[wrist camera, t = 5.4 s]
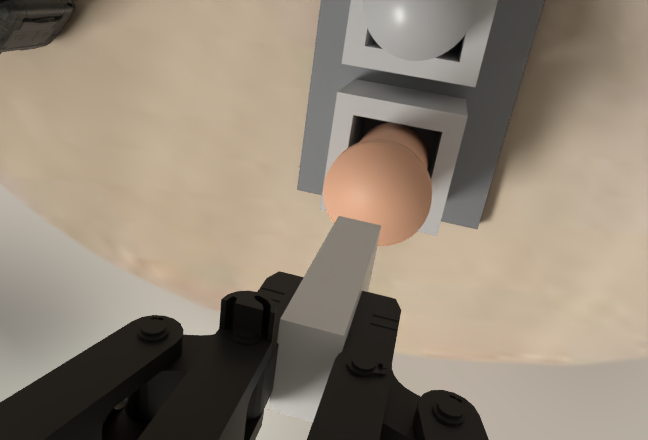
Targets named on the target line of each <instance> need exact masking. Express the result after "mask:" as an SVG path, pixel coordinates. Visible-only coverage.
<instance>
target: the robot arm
mask: <svg viewBox="0 0 648 440" xmlns="http://www.w3.org/2000/svg"><path fill="white" fill-rule="evenodd" d="M380 230H381V225H377V224H373V223H368V222H364V221H360V220H355V219H351V218H346V217H342V216H338V218H337V220H336V222H335V223H334V225H333V227H332V229H331V230H330V232H329V234H328V236H327V237H326V239H325V241H324V243H323V244H322V246H321V248H320V250H319V252H318V253H317V255H316V257H315V259H314V260H313V262H312V264H311V266H310V267H309V269H308V271H307V273H306V274H305V276H304V277H300V276H296V275H292V274H288V273H284V272H280V271H279V272H277V273H276V274H274V275H272V276H270V277H268V278H267V279H266V280H265V282H264V283H263V284H262V286H261V288H260V289H259V290H258V292H253V291H238V292H234V293H231V294H228V295H227V296H225V297H224V298H223V299H221V313H220V327H219V330H218V331H217V332H216V334H214V335H203V336H199V335H183V328H182V326H181V324H180V323H179V322H177V321H176V320H175V319H173V318H169V317H166V316H158V315H152V316H146V317H141V318H139V319H137V320H135V321H132V322H131V323H129V324H127V325H126V326H124V327H122V328H121V329H119V330H118V331H116V332H114V333H113V334H111V335H109V336H108V337H106V338H105V339H103V340H102V341H100V342H98V343H96V344H95V345H93V346H92V347H90V348H88V349H87V350H85V351H83V352H82V353H80V354H78V355H77V356H75V357H74V358H72V359H70V360H69V361H67V362H66V363H64V364H62V365H61V366H59V367H58V368H56V369H54V370H52V371H51V372H49V373H48V374H46V375H44V376H43V377H41V378H39V379H38V380H36V381H35V382H33V383H32V384H30V385H28V386H26V387H25V388H23V389H22V390H20V391H18V392H17V393H15V394H13V395H12V396H10V397H9V398H7V399H5V400H4V401H2V402H0V440H255V439H256V436H257V434H258V432H259V430H260V428H261V425H262V420H263V413H264V408H265V406H266V404H267V401H268V399H269V397H270V403H269V410H271V411H275V412H278V413H281V414H284V415H288V416H291V417H295V418H298V419H302V420H305V421H309V422H312V423H313V424H312V427H311V430H310V432H309V435H308V438H307V440H489V439H488V437H487V434H486V431H485V429H484V426H483V423H482V421H481V418H480V416H479V414H478V413H477V411H476V409H475V407H474V406H473V405H472V404H471V403H469V402H468V401H467V400H466V399H465V398H463V397H461V396H459V395H457V394H455V393H453V392H448V391H444V390H431V391H429V392H427V393H424V394H423V395H422V396H421V397H420V396H418V395H416V394H415V393H413V392H411V391H410V390H408V389H407V388H405V387H404V386H403V385H402V384H401V383H399V382H398V380H397V379H396V377H395V376H394V374H393V371H392V359H393V354H394V348H395V342H396V337H397V331H398V325H399V320H400V314H401V309H400V307H399V305H398V303H397V301H396V299H394V298H390V297H386V296H382V295H378V294H374V293H370V292H368V288H369V284H370V279H371V274H372V269H373V264H374V259H375V254H376V250H377V245H378V240H379V235H380Z"/></svg>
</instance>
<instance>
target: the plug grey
mask: <svg viewBox="0 0 648 440" xmlns="http://www.w3.org/2000/svg"><path fill="white" fill-rule="evenodd" d="M477 3H478V0H363V12H364V18H365V22H366V25H367V28H368V30H369V32H370V34H371V35H372V37H373V39H374V40H375V41H376V43H377V44H378V45H379V46H380V47H381V48H382V49H384V50H385V51H386V52H388V53H389V54H391V55H393V56H395V57H398V58H400V59H404V60H409V61H423V60H429V59H432V58H435V57H438V56H440V55H442V54H444V53H446V52H447V51H449V50H450V49H452V48H453V47H454V46H455V45H456V44H457V43H458V42H459V41H460V40H461V39H462V38H463V37H464V35H465V34H466V32H467V31H468V29H469V27H470V26H471V23H472V21H473V19H474V16H475V13H476V8H477Z"/></svg>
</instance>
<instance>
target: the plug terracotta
mask: <svg viewBox="0 0 648 440" xmlns="http://www.w3.org/2000/svg"><path fill="white" fill-rule="evenodd" d="M428 162H429V155H428V149H427V146H426V144H425V142H424V140H423V138H422V137H421V136H420V135H419V134H418V133H417V132H416V131H415V130H414V129H412V128H410V127H409V126H406V125H403V124H398V123H384V124H380V125H378V126H375V127H374V128H372V129H370V130H369V131H368V132H367V133H366V134H365V135H364V136H363V137H362V139H361V140H360V142H359V143H356V144H354V145H352V146H350V147H349V148H347V149H346V150H345V151H343V152H342V153H341V154H340V155H339V156H338V158H337V159H336V160H335V162H334V163H333V164H332V166H331V167H330V169H329V171H328V172H327V175H326V178H325V181H324V187H323V199H324V204H325V208H326V211H327V213H328V215H329V217H330V219H331V220H332V222H333V223H335V222H336V220H337V218H338V216H342V217H346V218H351V219H355V220H360V221H364V222H368V223H373V224H377V225H381V230H380V235H379V240H378V245H377V246H389V245H394V244H397V243H400V242H402V241H404V240H406V239H408V238H409V237H411V236H412V235H414V234H415V233H416V232H417V231H418V230H419V229H420V228H421V227H422V225H423V224H424V222H425V220H426V218H427V216H428V214H429V211H430V207H431V201H432V182H431V178H430V175H429V172H428V170H427V168H428Z"/></svg>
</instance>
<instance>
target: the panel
mask: <svg viewBox="0 0 648 440" xmlns="http://www.w3.org/2000/svg"><path fill="white" fill-rule="evenodd" d="M544 1H545V0H478V3H477V8H476V13H475V16H474V19H473V21H472V23H471V26H470V27H469V29H468V31H467V32H466V34H465V35H464V37H463V38H462V39H461V40H460V41H459V42H458V43H457V44H456V45H455V46H454V47H453V48H452V49H450V50H449V51H447V52H446V53H444V54H442V55H440V56H438V57H435V58H432V59H429V60H423V61H409V60H404V59H400V58H398V57H395V56H393V55H391V54H389V53H388V52H386V51H385V50H384V49H382V48H381V47H380V46H379V45H378V44H377V43H376V41H375V40H374V39H373V37H372V35H371V34H370V32H369V30H368V28H367V25H366V22H365V18H364V12H363V0H321V4H320V12H319V20H318V28H317V36H316V44H315V51H314V59H313V67H312V75H311V83H310V91H309V99H308V107H307V115H306V123H305V131H304V139H303V147H302V155H301V163H300V171H299V179H298V187H297V190H301V191H305V192H310V193H314V194H319V195H322V198H321V205H320V210H323V211H326V208H325V204H324V199H323V187H324V181H325V178H326V175H327V172H328V171H329V169H330V167H331V166H332V164H333V163H334V162H335V160H336V159H337V158H338V156H339V155H340V154H341V153H342V152H343V151H345V150H346V149H347V148H349V147H350V146H352V145H354V144H356V143H359V142H360V140H361V139H362V137H363V136H364V135H365V134H366V133H367V132H368V131H369V130H370V129H372V128H374V127H375V126H378V125H380V124H384V123H398V124H403V125H406V126H409V127H410V128H412V129H414V130H415V131H416V132H417V133H418V134H419V135H420V136H421V137H422V138H423V140H424V142H425V144H426V146H427V149H428V155H429V162H428V168H427V170H428V172H429V175H430V178H431V182H432V201H431V207H430V211H429V214H428V216H427V218H426V220H425V222H424V224H423V225H422V227H421V228H420V229H419V230H418V231H417V232H421V233H425V234H430V235H434V236H437V234H438V230H439V226H440V222H441V221H442V222H447V223H451V224H456V225H460V226H465V227H469V228H474V229H478V226H479V223H480V219H481V216H482V212H483V209H484V205H485V202H486V199H487V195H488V192H489V188H490V185H491V182H492V178H493V175H494V171H495V168H496V165H497V161H498V158H499V154H500V151H501V148H502V144H503V141H504V137H505V134H506V131H507V127H508V124H509V120H510V117H511V114H512V110H513V107H514V103H515V100H516V97H517V93H518V90H519V86H520V83H521V80H522V76H523V73H524V69H525V66H526V63H527V59H528V56H529V52H530V49H531V46H532V42H533V39H534V35H535V32H536V29H537V25H538V22H539V18H540V15H541V12H542V8H543V5H544Z"/></svg>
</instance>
